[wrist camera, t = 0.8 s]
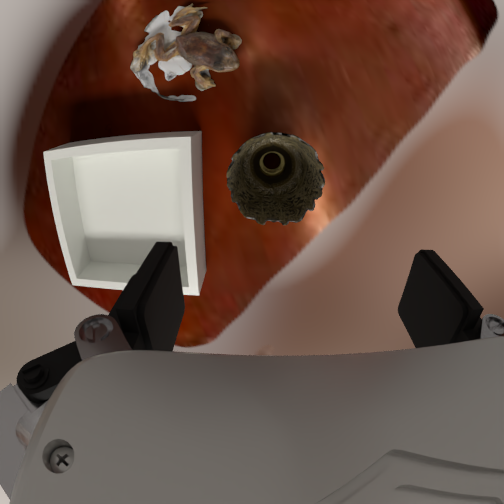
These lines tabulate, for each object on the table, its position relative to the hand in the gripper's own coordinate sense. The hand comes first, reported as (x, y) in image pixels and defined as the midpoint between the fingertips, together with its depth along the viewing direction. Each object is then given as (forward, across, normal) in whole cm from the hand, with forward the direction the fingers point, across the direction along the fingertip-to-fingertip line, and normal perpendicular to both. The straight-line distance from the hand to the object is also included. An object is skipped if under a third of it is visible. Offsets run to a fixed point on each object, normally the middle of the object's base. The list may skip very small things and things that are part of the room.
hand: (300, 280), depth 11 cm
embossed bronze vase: (+21, 0, 0) cm, 21 cm away
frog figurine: (+21, +8, -12) cm, 26 cm away
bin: (+20, +15, +4) cm, 26 cm away
